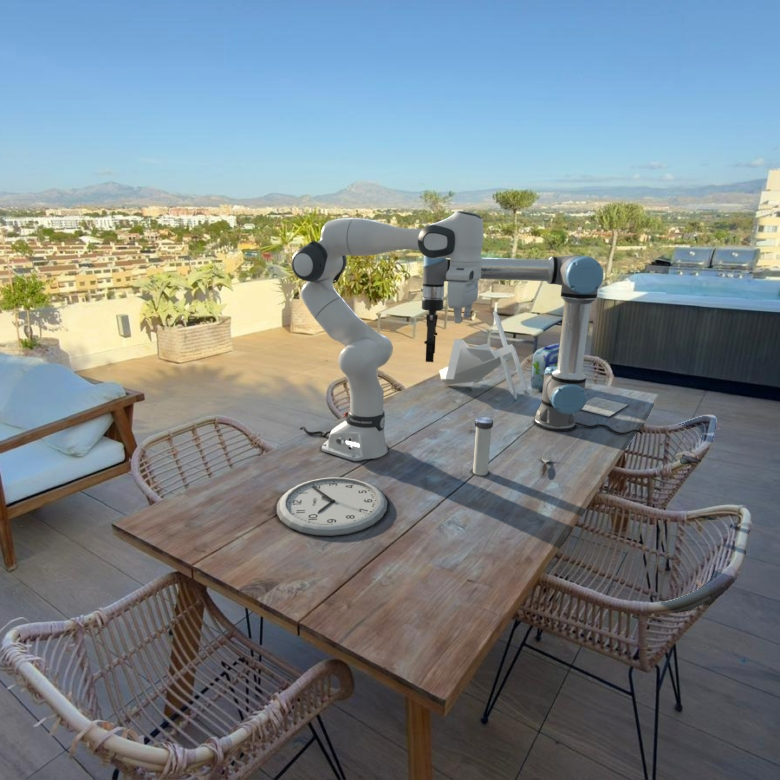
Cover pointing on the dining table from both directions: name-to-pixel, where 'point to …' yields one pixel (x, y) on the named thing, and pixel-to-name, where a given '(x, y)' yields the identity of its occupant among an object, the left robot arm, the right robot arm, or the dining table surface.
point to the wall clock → (331, 506)
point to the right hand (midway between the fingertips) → (430, 357)
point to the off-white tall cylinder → (481, 451)
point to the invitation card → (603, 406)
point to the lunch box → (543, 364)
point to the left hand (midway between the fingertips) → (462, 320)
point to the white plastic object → (482, 362)
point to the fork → (545, 461)
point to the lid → (484, 423)
